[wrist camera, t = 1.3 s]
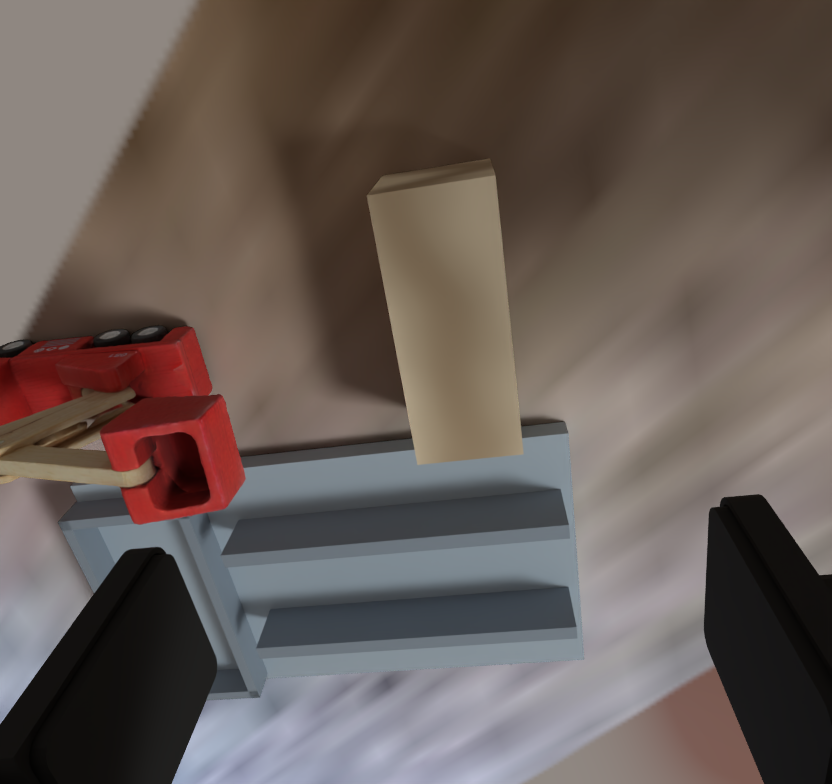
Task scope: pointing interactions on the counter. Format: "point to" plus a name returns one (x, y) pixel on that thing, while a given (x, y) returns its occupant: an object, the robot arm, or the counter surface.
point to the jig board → (367, 560)
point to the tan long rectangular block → (449, 309)
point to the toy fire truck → (120, 420)
